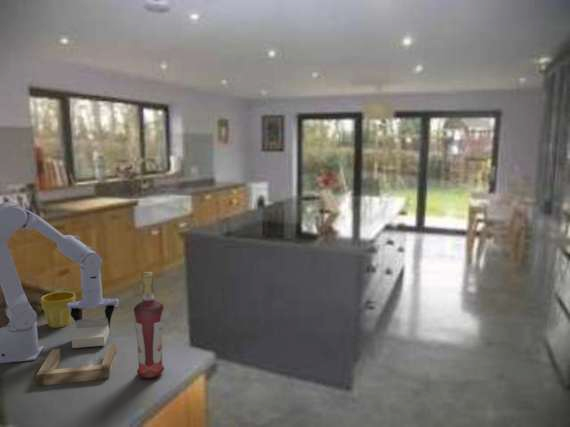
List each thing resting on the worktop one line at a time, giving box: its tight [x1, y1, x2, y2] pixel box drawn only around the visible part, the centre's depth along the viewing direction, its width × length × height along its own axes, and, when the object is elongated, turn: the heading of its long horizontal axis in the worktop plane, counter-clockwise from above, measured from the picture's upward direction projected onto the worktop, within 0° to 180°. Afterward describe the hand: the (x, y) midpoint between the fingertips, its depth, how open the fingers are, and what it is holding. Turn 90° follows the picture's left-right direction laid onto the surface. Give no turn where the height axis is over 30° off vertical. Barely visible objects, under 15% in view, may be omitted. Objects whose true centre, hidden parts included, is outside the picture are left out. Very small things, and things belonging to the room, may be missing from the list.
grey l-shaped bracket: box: [71, 317, 110, 349], centre depth 131 cm, size 9×7×6 cm
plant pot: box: [40, 291, 77, 329], centre depth 145 cm, size 10×10×10 cm
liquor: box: [133, 271, 165, 380], centre depth 113 cm, size 7×7×28 cm
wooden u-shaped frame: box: [36, 343, 118, 387], centre depth 117 cm, size 17×14×3 cm
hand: (95, 329), depth 136 cm, fingers open, 7 cm apart
